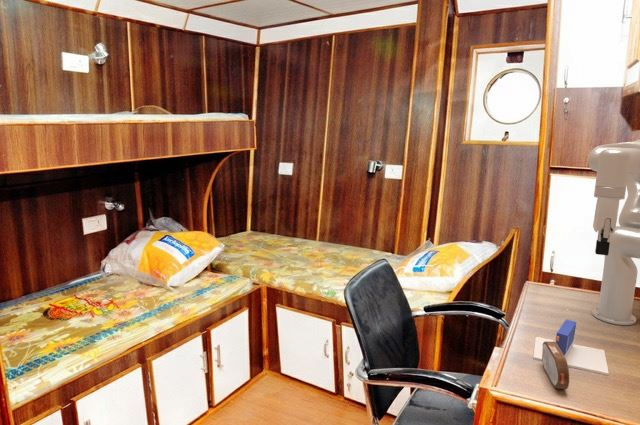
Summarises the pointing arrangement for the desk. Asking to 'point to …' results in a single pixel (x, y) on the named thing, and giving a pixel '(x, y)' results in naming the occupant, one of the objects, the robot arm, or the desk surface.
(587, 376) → the desk surface
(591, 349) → the mat
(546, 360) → the tin
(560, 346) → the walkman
